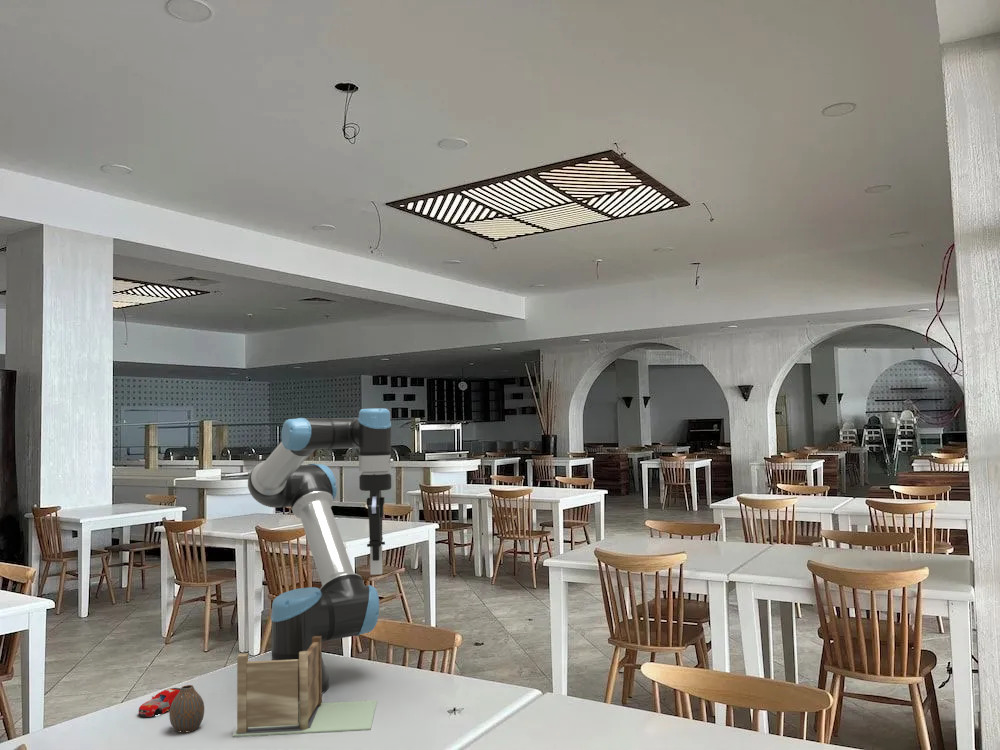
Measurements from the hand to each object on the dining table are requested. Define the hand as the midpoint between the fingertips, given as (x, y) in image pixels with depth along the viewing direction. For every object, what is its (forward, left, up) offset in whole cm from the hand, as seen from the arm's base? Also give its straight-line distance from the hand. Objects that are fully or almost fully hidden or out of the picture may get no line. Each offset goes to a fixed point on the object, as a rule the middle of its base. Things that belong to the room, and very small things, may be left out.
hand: (376, 573), depth 185 cm
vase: (+14, -39, -29) cm, 50 cm away
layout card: (+11, -14, -28) cm, 34 cm away
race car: (0, -48, -29) cm, 56 cm away
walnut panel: (+10, -14, -28) cm, 32 cm away
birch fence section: (+18, -20, -28) cm, 39 cm away
